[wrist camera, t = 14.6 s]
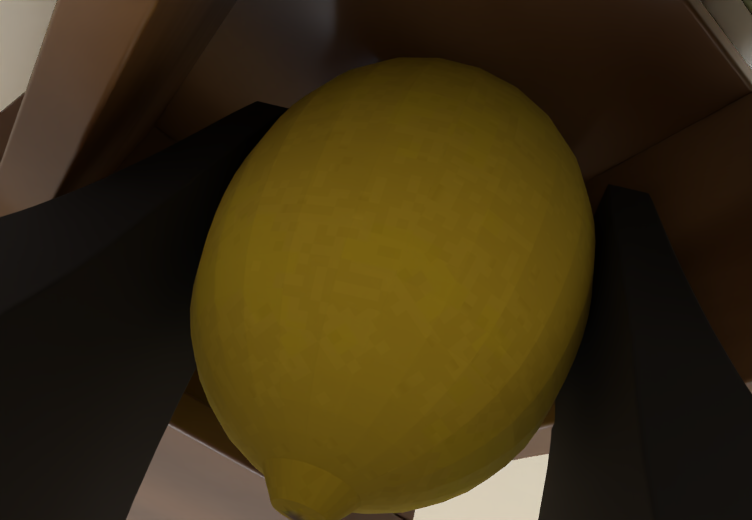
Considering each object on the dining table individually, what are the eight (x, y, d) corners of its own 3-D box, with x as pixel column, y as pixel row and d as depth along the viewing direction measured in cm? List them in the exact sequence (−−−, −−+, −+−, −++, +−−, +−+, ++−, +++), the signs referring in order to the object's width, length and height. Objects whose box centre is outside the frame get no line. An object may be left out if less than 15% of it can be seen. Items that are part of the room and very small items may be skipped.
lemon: (380, -87, 9) (27, 265, 4) (681, 73, 10) (711, 597, 4) (301, 155, 13) (78, 480, 8) (511, 262, 14) (424, 642, 9)
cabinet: (142, -7, 14) (-159, 242, 8) (470, 267, 18) (405, 555, 12) (22, 237, 24) (-151, 423, 18) (249, 379, 28) (161, 566, 22)
